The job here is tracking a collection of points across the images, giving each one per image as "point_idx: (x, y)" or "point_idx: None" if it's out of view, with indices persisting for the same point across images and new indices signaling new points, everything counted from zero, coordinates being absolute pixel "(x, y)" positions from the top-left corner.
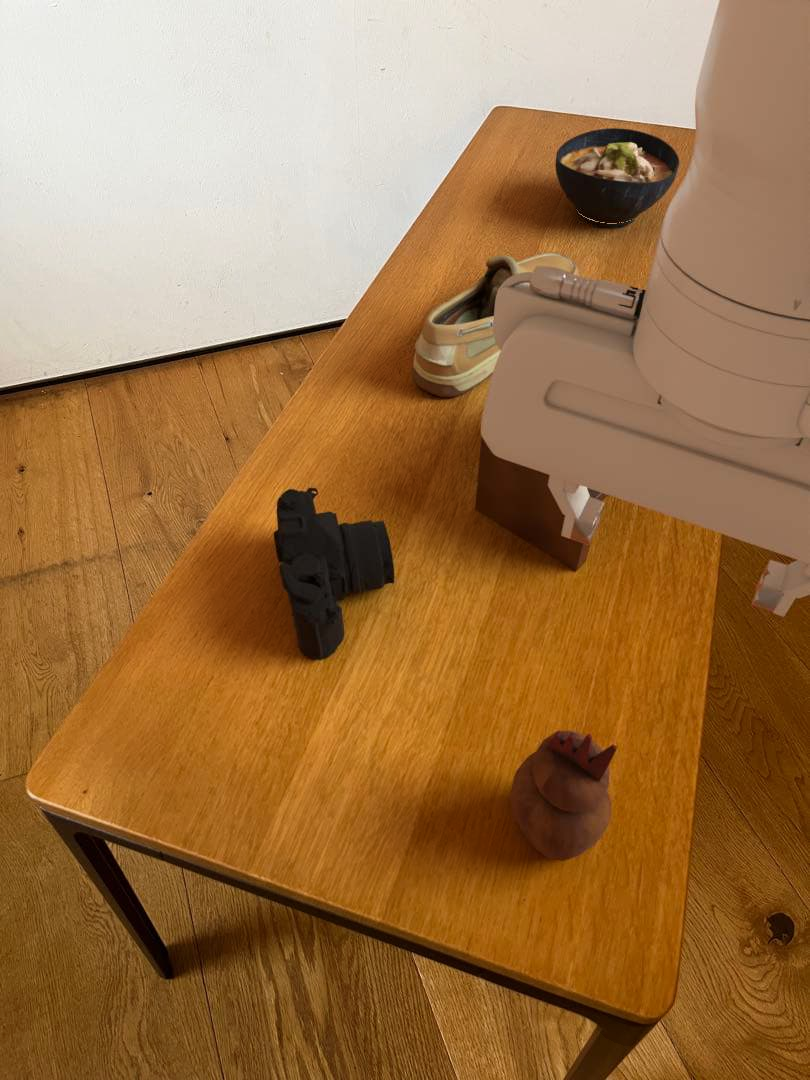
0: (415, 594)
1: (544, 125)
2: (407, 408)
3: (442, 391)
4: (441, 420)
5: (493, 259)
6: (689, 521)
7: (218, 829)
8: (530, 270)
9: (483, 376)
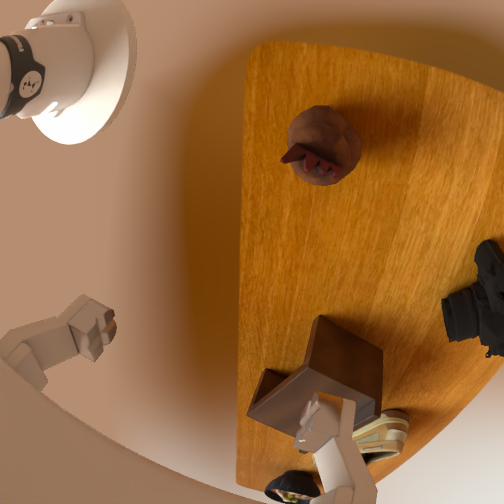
0: (425, 292)
1: None
2: (415, 402)
3: (394, 413)
4: (396, 397)
5: None
6: (136, 461)
7: None
8: None
9: None
